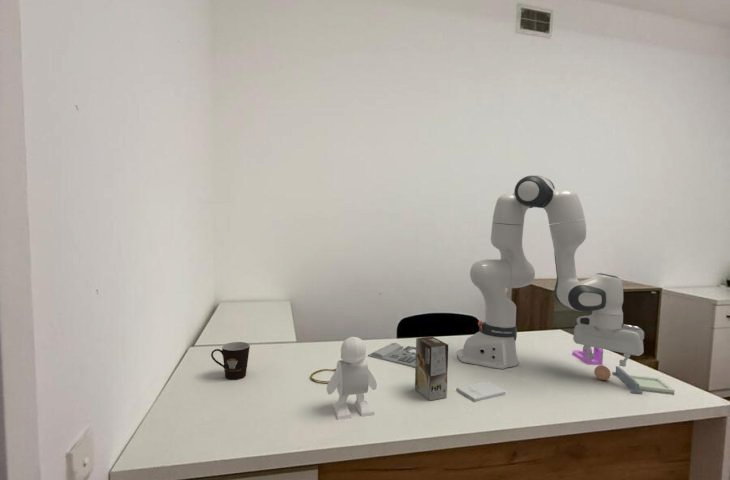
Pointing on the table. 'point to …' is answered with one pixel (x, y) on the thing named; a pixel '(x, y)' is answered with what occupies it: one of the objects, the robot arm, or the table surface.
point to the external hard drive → (480, 391)
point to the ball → (602, 372)
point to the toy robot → (352, 378)
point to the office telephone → (396, 354)
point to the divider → (627, 380)
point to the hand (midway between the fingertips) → (606, 362)
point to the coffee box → (431, 368)
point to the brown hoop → (319, 380)
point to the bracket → (584, 356)
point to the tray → (652, 384)
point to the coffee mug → (234, 359)
